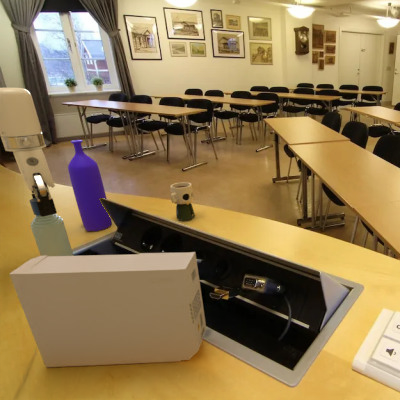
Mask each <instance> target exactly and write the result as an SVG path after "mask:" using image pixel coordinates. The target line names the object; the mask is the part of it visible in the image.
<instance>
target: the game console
mask: <svg viewBox="0 0 400 400" xmlns="http://www.w3.org/2000/svg"><path fill="white" fill-rule="evenodd" d="M9 277H10V280H11V282H12V285H13V288H14V290H15V293H16V295H17V298H18V300H19V303H20V305H21V308H22V310H23V313H24V315H25V318H26V321H27V323H28V326H29V328H30V331H31V333H32V337H33V339H34V341H35V344H36V347H37V348H38V352H39V355H40V356H41V359H42V362H43V365H44V367H45V368H59V367H60V368H61V367H62V368H64V367H83V366H84V367H85V366H108V365H109V366H110V365H128V364H130V365H131V364H152V363H168V362H169V363H172V362H182V361H181V360H189V361H190V360H191V359H192V357H194V356H195V355H196V354H197V353H198V352H199V350H200V348H201V345H202V342H203V338H204V336H205V333H206V331H207V325H206V323H207V322H206V316H205V310H204V303H203V302H204V301H203V296H202V288H201V281H200V275H199V268H198V261H197V254H196V251H190V252H140V253H137V254H136V253H135V254H134V253H133V254H97V255H94V254H93V255H91V254H89V255H74V256H48V255H44V256H41V255H38V256H36V257H32V258H30V259H28V260H27V261H26V262H24V263H23V264H20V266H18V267H17V268H16V269H14V270H12V271H11V272H9Z"/></svg>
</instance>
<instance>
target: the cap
mask: <svg viewBox="0 0 400 400" xmlns="http://www.w3.org/2000/svg"><path fill="white" fill-rule="evenodd" d="M36 201H37V199H36V198H33V197H32V198H31V199H29V204H30V207H31V210H32V213H33V215H34V216H36V215H40V213H39V209H38V206H37V203H36Z"/></svg>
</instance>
